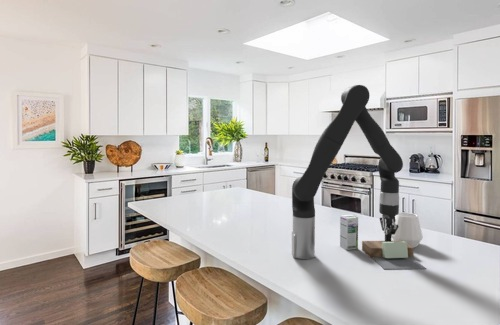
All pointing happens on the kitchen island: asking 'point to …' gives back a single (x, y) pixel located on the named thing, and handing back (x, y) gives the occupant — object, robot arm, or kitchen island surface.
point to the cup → (408, 229)
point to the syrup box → (349, 232)
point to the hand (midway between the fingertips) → (387, 242)
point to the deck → (379, 248)
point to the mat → (398, 263)
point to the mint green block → (395, 249)
